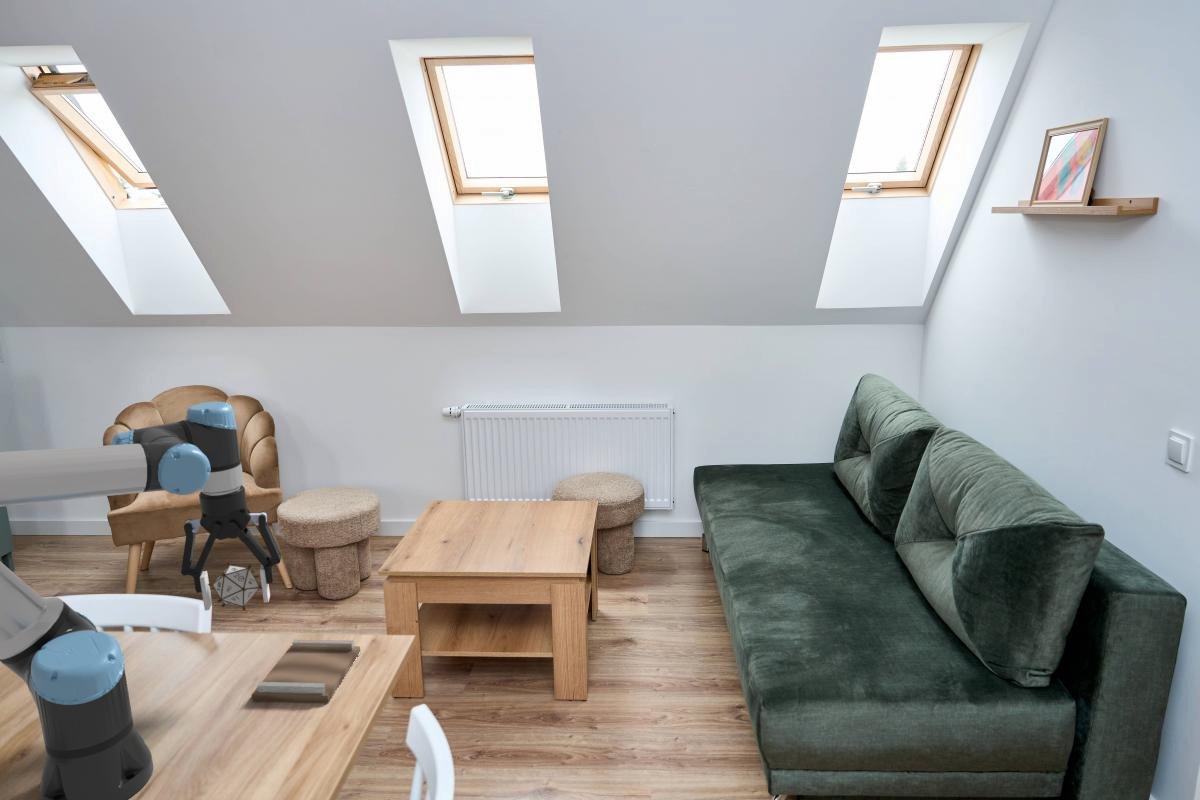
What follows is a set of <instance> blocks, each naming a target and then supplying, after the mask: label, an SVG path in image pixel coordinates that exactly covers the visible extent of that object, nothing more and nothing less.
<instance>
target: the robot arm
mask: <svg viewBox="0 0 1200 800" xmlns="http://www.w3.org/2000/svg"><path fill="white" fill-rule="evenodd" d="M186 409H187V410H186V416H185V419H182V420H180V421H175V422H171V423H164V424H158V425H153V426H148V427H143V428H132V429H131V430H127V431H124V432H119V433H116V434H114V435H113V437H112V438H111V441H110V442H111V443H110V445H96V446H95V445H94V446H92V445H91V446H81V447H80V446H78V447H64V448H47V449H46V448H45V449H29V450H16V451H15V450H12V451H1V452H0V507H1V508H2V507H10V506H19V505H31V504H39V503H42V504H43V503H50V502H59V501H70V500H79V499H88V498H99V497H100V498H101V497H109V496H120V495H128V494H129V495H130V494H138V493H139V494H140V493H141V494H142V493H152V492H153V493H154V492H163V491H165V492H167V493H169V494H174V495H178V496H188V495H192V494H194V493H197V492H198V491H199V494H198V497H199V504H200V511H201V517H200V518H198V519H193V518H192V519H191V518H189V519H187V520H186V521H185V523H184V524H183V531H184V533H185V541H184V549H183V557H182V562H181V563H182V564H181V570H180V573H181V575H182V576H191V577H193V582H194V583H193V584H194V587H195V588H194V589H195V592H196V594H198V593H201V595H202V600H203V601H202V602H203V607H204V611H210V610H211V607H212V604H213V601H212V600H213V599H212V594H211V593H212V592H211V587H210V586H209V585H208V584H209V583H210V582H209V575H208V570H205V571H203V569H204V567H205V564H206V562H207V560H208V557H209V556H210V554H211V550H212V548H213V547H214V544H215V541H216V539H217V540H218V541H222V540H226V539H237V538H238V539H239V541H241V542H242V543H244V545H245V546H246V547H247V549H248V550H249V551H250V552H251V553H252V555H253V556H254V557H255V558H256V559H257V560H258V562H259V563H260V564H261V565H260V568H259V574H260V583H261V586H262V589H261V590H262V598H263V603H264V604H265V603H269V602H270V598H271V592H270V586H269V585H270V584H273V582H274V580H275V579H274V577H275V576H274V569H273V566H275V565H279V564H280V563H281V560H282V558H283V555H282V553H281V550H280V548H279V546H278V544H277V541H276V539H275V537H274V534H273V531H272V530H271V528H270V526H269V523H268V513H267V511H266V510H262V511H260V513H259V512H258V513H257V512H256V513H255V512H254V513H253V512H252V513H251V511H250V510H249V508H248V503H247V502H248V501H247V497H246V496H247V495H246V488H245V487H244V486H243V485H244V483H245V481H244V473H243V467H242V465H243V464H242V461H241V455H240V453H241V452H240V444H239V435H238V426H237V422H236V417H235V412H234V409H233V407H232V405H230V404H229V403H227V402H223V401H206V402H201V403H198V404H194V405H190V406H189V407H188V408H186ZM251 521H252V522H253V523H254V525H255V526H258V530H259V532H260V535H261V537H262V539H263V542H264V544H265V546H266V549H267V551H268V552H267V551H266V550H265V548H264V547H263V546H262V545H261V544H260V542H258V540H257V539H256V538H255V536H254V535H253V534H252V532H251V530H250V529H249V527H248V525H249V523H250V522H251ZM200 527H201V528H203V529H204V530H205V531H206V532H207V533H208V534H209V535H208V538H207V540H206V542H205V543H204V544H205V545H204V547H203V549H202V552H201V554H200V556H199V558H198V561H197V563H196V564H195V565H192V564H193V557H194V549H195V542H196V537H197V532H198V531H199V529H200ZM124 655H125V654H124V652H123V650H122V649H121V646H120V643H119V641H118V640H117V639H116V637H114V636H113V635H111V634H110V633H108V632H105V631H98V629H97V627H96V625H95V624H94V622H92V620H91V619H90V618H88V617H87V616H86V615H84V614H82V613H80V612H79V611H76V610H74V609H73V608H71V607H70V606H69V604H67V603H66V602H65V601H63V600H62V599H61V598H59V597H56V596H53V597H52V596H51V597H45V598H44V597H42V596H41V595H40V594H38V593H37V592H36V591H35V590H34V589H33V588H32V587H31V586H29V585H28V583H26V582H25V581H24V580H23V579H21V578H20V577H19V576H18V575H17V574H15V573H14V572H13V571H12V570H11V569H10V568H8V567H7V566H6V565H5V564H4V563H3V562H2V561H1V560H0V663H1V664H3V665H4V666H5V667H7V668H8V669H9V670H11V671H12V672H13V673H14V674H15V675H17V676H18V677H19V678H20V679H22V680H23V682H25V684H26V686H27V687H28V691H29V692H30V694H31V696H32V698H33V700H34V703H35V705H36V709H37V712H38V716H39V721H40V722H39V723H40V726H41V727H40V728H41V732H42V735H43V741H44V745H45V750H46V752H45V753H46V756H45V761H44V764H43V765H44V766H43V770H42V774H41V778H40V782H39V798H40V800H129V799H130V798H131V797H132V796H134V795H135V794H137V793H138V792H140V790H141V789H143V788H144V786H146V784H147V783H148V782H149V780H150V779H151V777H152V775H153V772H154V763H153V756H152V752H151V750H150V749H149V746H148V745H147V743H146V742H145V741H144V739H143V738H142V735H141V734H140V733H139V731H138V730H137V729H136V727H135V725H134V720H133V713H132V708H131V707H132V706H131V701H130V696H129V693H130V692H129V688H128V682H127V676H126V670H125V667H126V661H125V657H124Z"/></svg>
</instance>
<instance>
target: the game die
mask: <svg viewBox="0 0 1200 800" xmlns="http://www.w3.org/2000/svg"><path fill="white" fill-rule="evenodd" d="M227 565H228V566H227V567H226V568H225V569H224V570H223V572H221V573H220V575H219V576H218V577H217V578H216V580H214V582H213V583H212V582H209V584H208V585H209V586H212V588H213V589H214V591H215V593H216V595H217V596H218V600H217V601H216V602H217V604H218V603H219V604H220V603H222V604H221V608H225V606H226V605H229V606H234V607H239V608H242V611H243V612H246V607H245V606H246V605H247V604H248V603H249V602H250V601H251V599H252V598H253V597H254V596H255V595H256V594H257V592H258V591H259V590H260V589H261V590H262V585H260V584H259V582H258V580H257V578H256V577H255V576H254V573H255V569H252V570H251V568H252V564H248V566H247V567H246V566H239V565H232V563H231V562H230V561H229V560H227Z"/></svg>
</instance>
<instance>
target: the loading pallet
mask: <svg viewBox="0 0 1200 800" xmlns="http://www.w3.org/2000/svg"><path fill="white" fill-rule="evenodd" d="M291 644H292V645H290V647H288V648H287V650H286V651H285V653H284V654H283V655H282V656H281V657H280V659H279V660H278V661H277V662H276V664H275V665H274V666H273V667H272V669H271V670H270V671H269V672H268V674H267V675H266V676H265V678H264V679H263V680H262V681H260V682H259V683H258V684H257V687H256V688H255V689H254V691H253V692H252V693H251V697H252V702H253V703H256V702H257V703H298V704H299V703H300V704H301V703H303V704H304V703H305V704H329V703H330V701H331V700H332V699H333V697H332V696H334V695H335V694H336V692H337V691H336V690H338V689H337V688H339V687H340V686H341V684H342V683H343V681H344V680H345V678H346V677H347V675H348V674H347V672H348V671H349V672H350V670H351V669H350V667H351V666H352V664H353V662H354V661H355V659H356V657H357V656H358V654H359V652H361V646H360V645H359V646H357V645H356V646H355V640H351V639H350V640H348V639H345V640H343V639H342V640H341V639H294V640H293V641H292V643H291ZM358 657H359V656H358ZM355 662H356V661H355ZM353 665H354V664H353ZM352 667H353V666H352ZM352 667H351V668H352ZM349 669H350V670H349ZM349 672H348V673H349ZM346 674H347V675H346ZM345 676H346V677H345ZM344 677H345V678H344ZM343 679H344V680H343ZM342 680H343V681H342ZM341 682H342V683H341ZM339 685H340V686H339ZM335 691H336V692H335ZM334 693H335V694H334ZM333 694H334V695H333ZM330 699H331V700H330Z"/></svg>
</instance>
